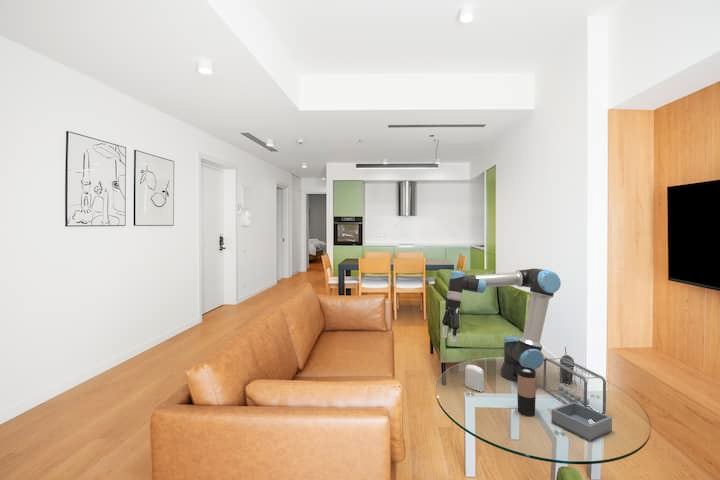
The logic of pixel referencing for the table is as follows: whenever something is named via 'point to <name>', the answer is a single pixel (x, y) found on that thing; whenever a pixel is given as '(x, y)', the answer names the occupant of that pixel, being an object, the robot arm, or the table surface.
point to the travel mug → (526, 391)
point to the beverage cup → (567, 368)
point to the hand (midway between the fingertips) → (448, 339)
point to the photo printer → (474, 377)
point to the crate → (581, 421)
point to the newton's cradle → (571, 392)
